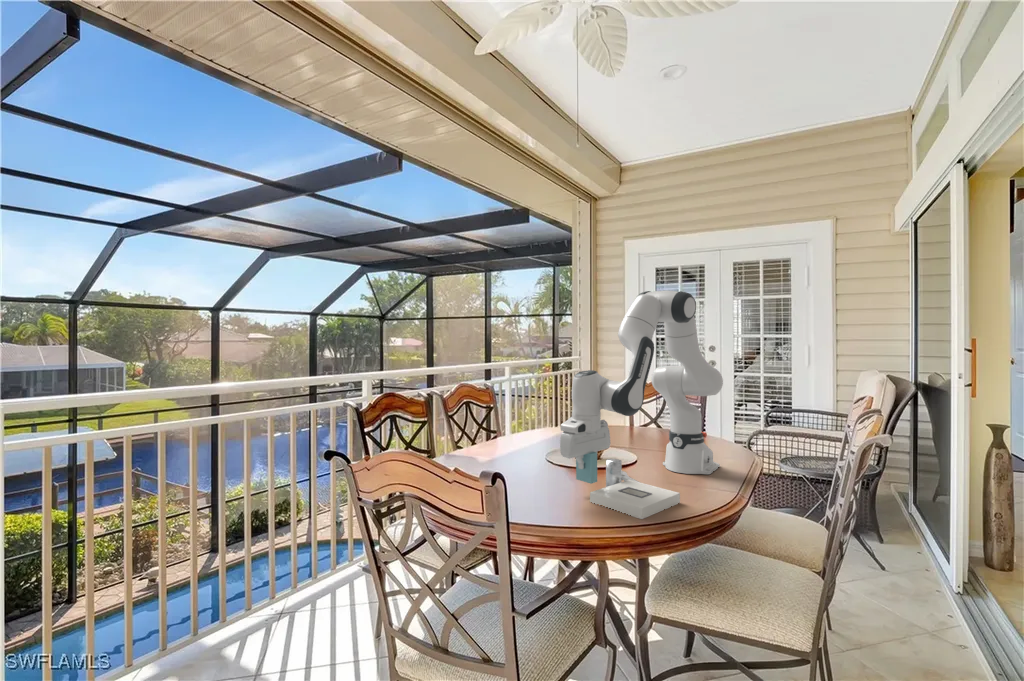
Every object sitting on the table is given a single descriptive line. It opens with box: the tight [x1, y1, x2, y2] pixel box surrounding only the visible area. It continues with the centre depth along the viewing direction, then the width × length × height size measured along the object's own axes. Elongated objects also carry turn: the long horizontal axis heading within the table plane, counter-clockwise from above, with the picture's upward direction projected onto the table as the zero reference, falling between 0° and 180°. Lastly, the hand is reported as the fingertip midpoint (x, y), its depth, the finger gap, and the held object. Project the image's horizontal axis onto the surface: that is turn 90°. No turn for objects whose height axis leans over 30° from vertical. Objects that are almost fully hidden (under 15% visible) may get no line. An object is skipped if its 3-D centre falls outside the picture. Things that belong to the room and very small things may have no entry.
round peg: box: [605, 458, 623, 487], centre depth 158 cm, size 5×5×9 cm
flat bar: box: [575, 452, 598, 485], centre depth 149 cm, size 3×6×9 cm, turn 41°
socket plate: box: [589, 480, 681, 520], centre depth 144 cm, size 20×18×3 cm
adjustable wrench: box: [622, 470, 642, 483], centre depth 163 cm, size 25×6×2 cm, turn 15°
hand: (586, 467), depth 149 cm, fingers closed on flat bar, 3 cm apart
